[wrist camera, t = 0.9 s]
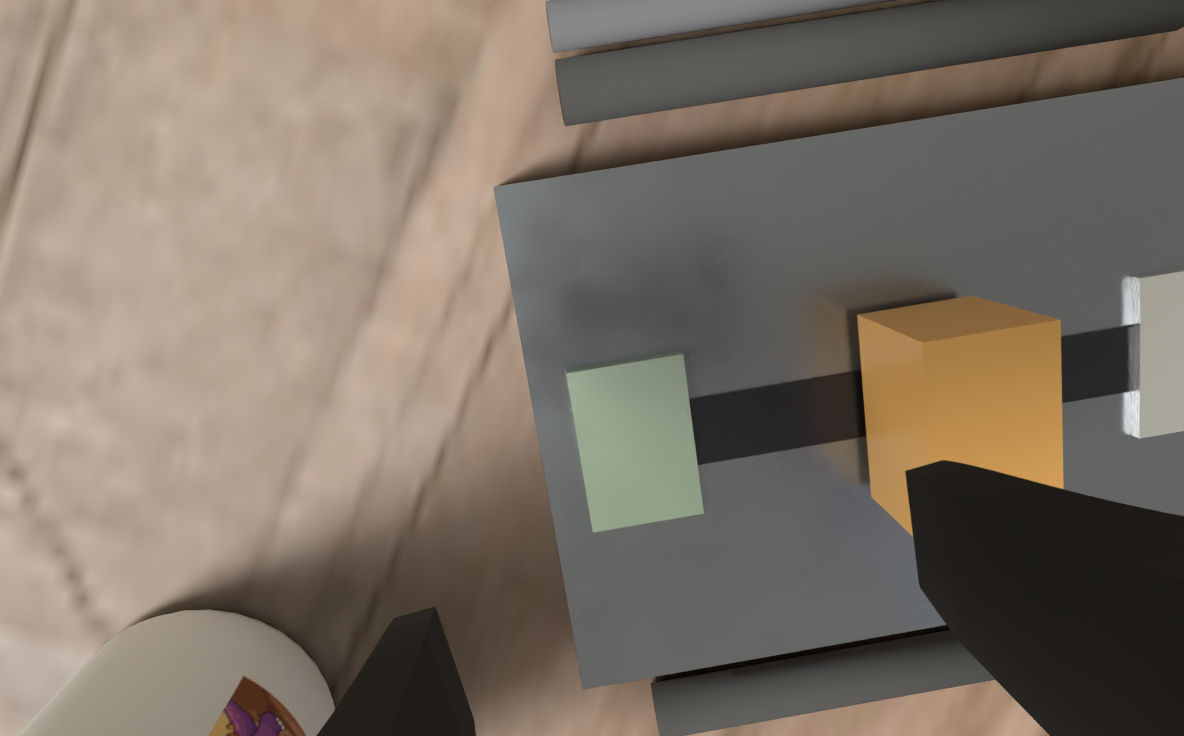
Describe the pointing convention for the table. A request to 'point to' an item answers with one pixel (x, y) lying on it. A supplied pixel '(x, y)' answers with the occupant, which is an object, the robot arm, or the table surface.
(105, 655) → the milk bottle
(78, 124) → the table surface
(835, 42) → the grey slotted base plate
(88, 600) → the table surface
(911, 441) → the lever
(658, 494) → the grey flat slab
